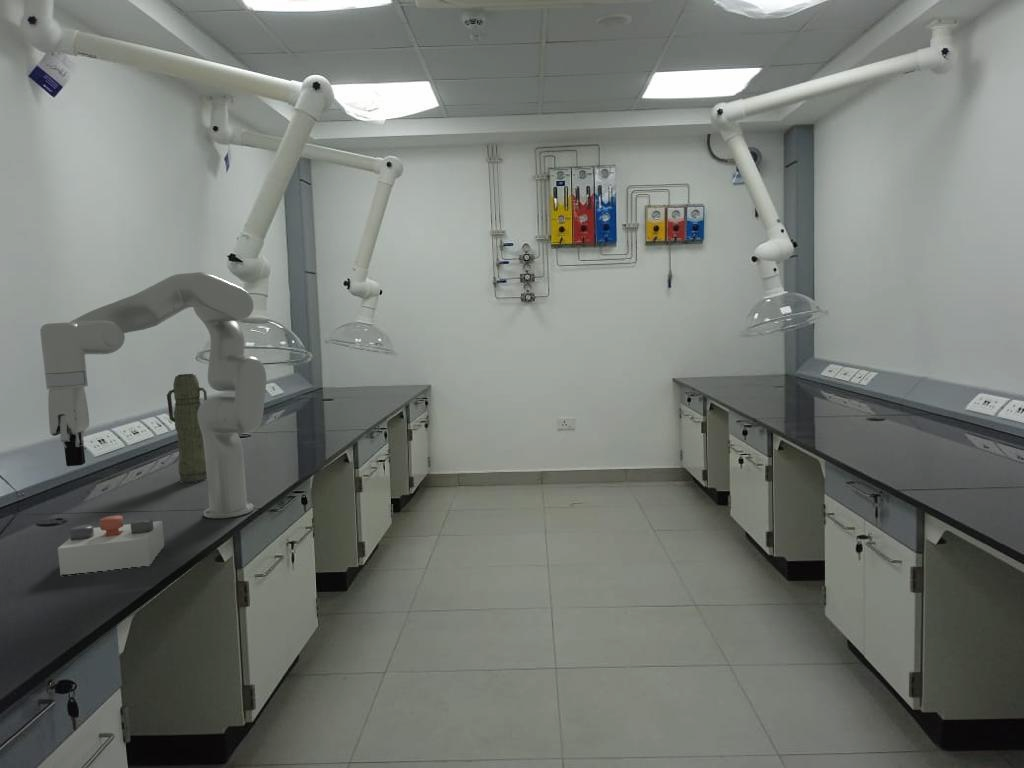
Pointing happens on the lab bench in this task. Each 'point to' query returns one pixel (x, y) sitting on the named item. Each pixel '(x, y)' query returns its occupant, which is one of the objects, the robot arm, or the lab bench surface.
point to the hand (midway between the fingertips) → (76, 464)
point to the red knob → (111, 525)
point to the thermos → (188, 427)
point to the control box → (111, 550)
